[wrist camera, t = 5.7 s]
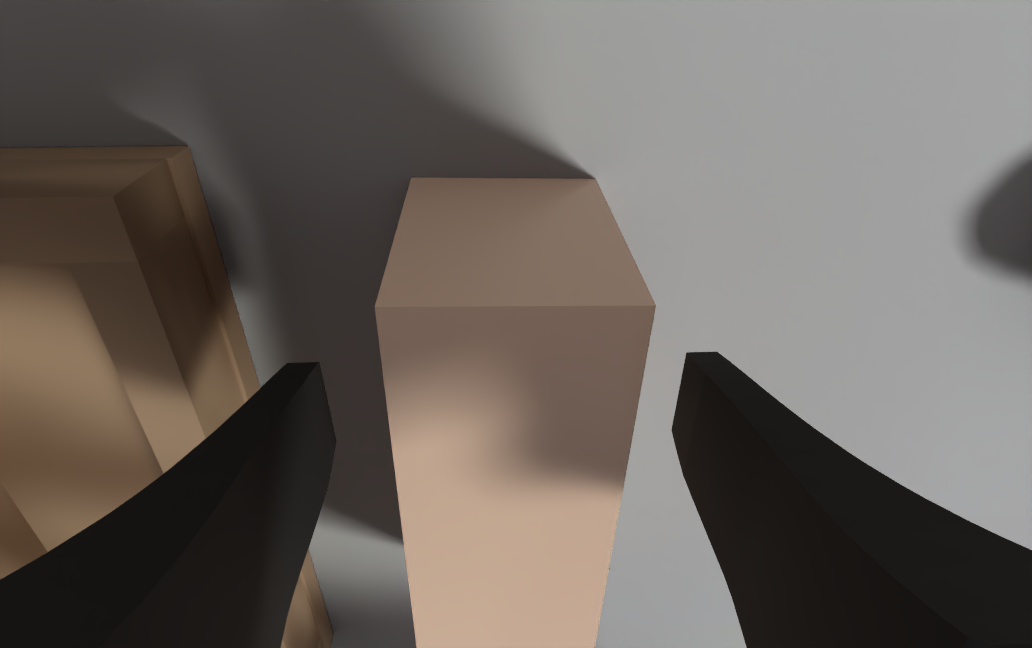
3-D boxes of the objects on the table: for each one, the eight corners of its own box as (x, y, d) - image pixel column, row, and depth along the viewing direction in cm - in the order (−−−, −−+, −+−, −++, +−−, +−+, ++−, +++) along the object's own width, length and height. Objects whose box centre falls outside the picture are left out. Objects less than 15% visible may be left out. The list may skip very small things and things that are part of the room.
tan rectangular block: (557, 548, 20) (580, 728, 16) (439, 551, 20) (427, 734, 15) (594, 176, 13) (655, 305, 9) (412, 174, 13) (374, 306, 8)
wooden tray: (333, 634, 22) (315, 717, 20) (99, 644, 22) (52, 731, 19) (188, 146, 12) (118, 196, 10) (-246, 150, 12) (-425, 204, 9)
